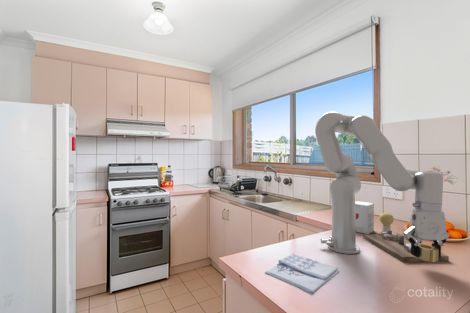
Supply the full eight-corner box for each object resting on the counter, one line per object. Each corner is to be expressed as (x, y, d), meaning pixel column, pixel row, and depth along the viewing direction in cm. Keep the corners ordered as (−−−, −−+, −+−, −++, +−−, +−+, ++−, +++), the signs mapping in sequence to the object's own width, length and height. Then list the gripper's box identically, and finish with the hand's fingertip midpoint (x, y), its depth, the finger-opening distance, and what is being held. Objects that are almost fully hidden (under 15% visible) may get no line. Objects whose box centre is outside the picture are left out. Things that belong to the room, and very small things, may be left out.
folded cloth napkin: (340, 273, 84) (340, 267, 84) (311, 297, 70) (311, 289, 70) (292, 256, 98) (292, 251, 98) (261, 274, 84) (261, 267, 84)
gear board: (402, 262, 91) (402, 245, 91) (363, 238, 117) (363, 225, 117) (448, 261, 92) (448, 244, 92) (399, 238, 118) (399, 224, 118)
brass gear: (423, 262, 83) (424, 250, 82) (408, 253, 90) (408, 242, 89) (443, 262, 83) (444, 250, 83) (426, 253, 90) (427, 242, 90)
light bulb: (395, 233, 124) (395, 214, 124) (382, 233, 125) (382, 213, 125) (390, 230, 130) (390, 211, 130) (377, 229, 132) (377, 211, 132)
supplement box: (349, 230, 130) (349, 202, 130) (356, 227, 136) (356, 200, 136) (368, 234, 123) (368, 205, 123) (374, 230, 129) (374, 203, 129)
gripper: (412, 208, 82) (409, 260, 82) (461, 209, 82) (458, 260, 83) (396, 203, 89) (394, 251, 90) (442, 204, 90) (439, 251, 90)
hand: (425, 255), depth 86 cm, fingers closed on brass gear, 7 cm apart
